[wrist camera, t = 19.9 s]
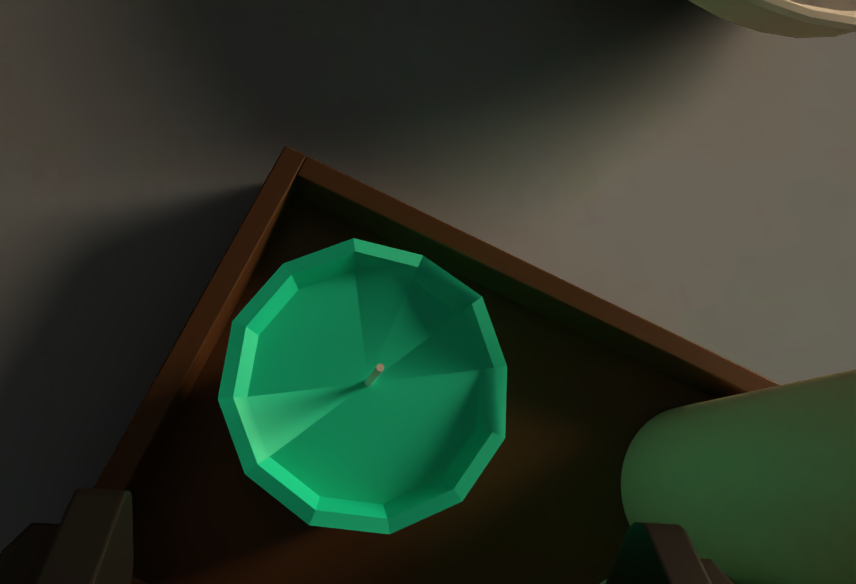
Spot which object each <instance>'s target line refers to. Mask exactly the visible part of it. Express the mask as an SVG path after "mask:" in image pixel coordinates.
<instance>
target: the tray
mask: <svg viewBox="0 0 856 584" xmlns="http://www.w3.org/2000/svg"><path fill="white" fill-rule="evenodd" d="M352 238H355V239H359V240H363V241H367V242H371V243H375V244H379V245H383V246H387V247H391V248H396V249H400V250H404V251H408V252H412V253H416V254H420V255H423V256H425V257H426V258H428V259H429V260H430V261H432V262H433V263H435V264H436V265H438V266H439V267H441V268H442V269H443V270H445V271H446V272H448V273H449V274H451V275H452V276H453V277H455V278H456V279H458V280H459V281H461V282H462V283H464V284H465V285H466V286H468V287H469V288H471V289H472V290H474V291H475V292H476V293H478V294H479V295H481V296H482V297H483V300H484V303H485V306H486V308H487V311H488V314H489V317H490V320H491V322H492V325H493V328H494V331H495V334H496V336H497V339H498V342H499V345H500V348H501V350H502V353H503V356H504V359H505V362H506V364H507V391H506V429H505V439H504V441H503V442H502V444H501V445H500V447H499V448H498V450H497V451H496V452H495V454H494V455H493V457H492V458H491V460H490V461H489V463H488V464H487V466H486V467H485V469H484V470H483V472H482V473H481V475H480V476H479V478H478V479H477V481H476V482H475V484H474V485H473V487H472V488H471V489H470V491H469V492H468V494H467V495H466V497H465V498H464V500H463V501H462V502H460V503H458V504H455V505H453V506H451V507H449V508H447V509H444V510H442V511H440V512H438V513H436V514H433V515H431V516H429V517H427V518H425V519H422V520H420V521H418V522H416V523H414V524H411V525H409V526H407V527H405V528H403V529H401V530H398V531H396V532H394V533H392V534H381V533H373V532H364V531H355V530H346V529H337V528H329V527H320V526H311V525H308V524H307V523H306V522H304V521H303V520H302V519H301V518H299V517H298V516H297V515H296V514H294V513H293V512H292V511H291V510H289V509H288V508H287V507H286V506H284V505H283V504H282V503H281V502H279V501H278V500H277V499H275V498H274V497H273V496H272V495H270V494H269V493H268V492H267V491H265V490H264V489H263V488H262V487H260V486H259V485H258V484H257V483H255V482H254V481H253V480H252V479H250V478H249V477H248V476H247V475H245V473H244V471H243V468H242V465H241V462H240V460H239V457H238V454H237V451H236V448H235V446H234V443H233V440H232V437H231V435H230V432H229V429H228V426H227V423H226V421H225V418H224V415H223V412H222V410H221V407H220V404H219V401H218V395H219V389H220V384H221V379H222V373H223V368H224V363H225V357H226V352H227V347H228V342H229V336H230V331H231V326H232V321H233V320H234V319H235V317H236V316H237V315H238V314H239V313H240V312H241V311H242V309H243V308H244V307H245V306H246V305H247V304H248V303H249V302H250V300H251V299H252V298H253V297H254V296H255V295H256V294H257V292H258V291H259V290H260V289H261V288H262V287H263V286H264V285H265V283H266V282H267V281H268V280H269V279H270V278H271V277H272V275H273V274H274V273H275V272H276V271H277V270H278V269H279V267H280V266H281V265H282V264H283V263H286V262H289V261H291V260H294V259H297V258H300V257H303V256H305V255H308V254H311V253H314V252H316V251H319V250H322V249H325V248H328V247H330V246H333V245H336V244H339V243H341V242H344V241H347V240H350V239H352ZM775 386H780V385H779V384H777V383H775V382H773V381H771V380H769V379H767V378H765V377H763V376H761V375H759V374H757V373H755V372H752V371H750V370H748V369H746V368H744V367H742V366H740V365H738V364H736V363H734V362H732V361H730V360H728V359H726V358H723V357H721V356H719V355H717V354H715V353H713V352H711V351H709V350H707V349H705V348H703V347H701V346H699V345H697V344H695V343H692V342H690V341H688V340H686V339H684V338H682V337H680V336H678V335H676V334H674V333H672V332H670V331H668V330H666V329H663V328H661V327H659V326H657V325H655V324H653V323H651V322H649V321H647V320H645V319H643V318H641V317H639V316H637V315H635V314H632V313H630V312H628V311H626V310H624V309H622V308H620V307H618V306H616V305H614V304H612V303H610V302H608V301H606V300H603V299H601V298H599V297H597V296H595V295H593V294H591V293H589V292H587V291H585V290H583V289H581V288H579V287H577V286H574V285H572V284H570V283H568V282H566V281H564V280H562V279H560V278H558V277H556V276H554V275H552V274H550V273H548V272H546V271H543V270H541V269H539V268H537V267H535V266H533V265H531V264H529V263H527V262H525V261H523V260H521V259H519V258H517V257H514V256H512V255H510V254H508V253H506V252H504V251H502V250H500V249H498V248H496V247H494V246H492V245H490V244H488V243H486V242H483V241H481V240H479V239H477V238H475V237H473V236H471V235H469V234H467V233H465V232H463V231H461V230H459V229H457V228H454V227H452V226H450V225H448V224H446V223H444V222H442V221H440V220H438V219H436V218H434V217H432V216H430V215H428V214H426V213H423V212H421V211H419V210H417V209H415V208H413V207H411V206H409V205H407V204H405V203H403V202H401V201H399V200H397V199H394V198H392V197H390V196H388V195H386V194H384V193H382V192H380V191H378V190H376V189H374V188H372V187H370V186H368V185H366V184H363V183H361V182H359V181H357V180H355V179H353V178H351V177H349V176H347V175H345V174H343V173H341V172H339V171H337V170H334V169H332V168H330V167H328V166H326V165H324V164H322V163H320V162H318V161H316V160H314V159H312V158H310V157H306V156H305V155H303V154H301V153H299V152H297V151H295V150H293V149H291V148H289V147H287V146H285V147H284V148H283V150H282V152H281V154H280V156H279V157H278V159H277V161H276V163H275V165H274V166H273V168H272V170H271V172H270V173H269V175H268V177H267V179H266V181H265V182H264V184H263V186H262V188H261V190H260V191H259V193H258V195H257V197H256V199H255V200H254V202H253V204H252V206H251V208H250V209H249V211H248V213H247V215H246V216H245V218H244V220H243V222H242V224H241V225H240V227H239V229H238V231H237V233H236V234H235V236H234V238H233V240H232V242H231V243H230V245H229V247H228V249H227V250H226V252H225V254H224V256H223V258H222V259H221V261H220V263H219V265H218V267H217V268H216V270H215V272H214V274H213V276H212V277H211V279H210V281H209V283H208V284H207V286H206V288H205V290H204V292H203V293H202V295H201V297H200V299H199V301H198V302H197V304H196V306H195V308H194V310H193V311H192V313H191V315H190V317H189V319H188V320H187V322H186V324H185V326H184V327H183V329H182V331H181V333H180V335H179V336H178V338H177V340H176V342H175V344H174V345H173V347H172V349H171V351H170V353H169V354H168V356H167V358H166V360H165V361H164V363H163V365H162V367H161V369H160V370H159V372H158V374H157V376H156V378H155V379H154V381H153V383H152V385H151V387H150V388H149V390H148V392H147V394H146V395H145V397H144V399H143V401H142V403H141V404H140V406H139V408H138V410H137V412H136V413H135V415H134V417H133V419H132V421H131V422H130V424H129V426H128V428H127V430H126V431H125V433H124V435H123V437H122V438H121V440H120V442H119V444H118V446H117V447H116V449H115V451H114V453H113V455H112V456H111V458H110V460H109V462H108V464H107V465H106V467H105V469H104V471H103V472H102V474H101V476H100V478H99V480H98V481H97V483H96V485H95V487H94V489H109V490H126V491H130V492H131V494H132V515H133V556H134V560H133V573H132V580H131V584H600V583H601V582H603V581H604V580H606V579H607V578H608V576H609V573H610V571H611V569H612V566H613V564H614V562H615V559H616V557H617V555H618V552H619V550H620V548H621V545H622V543H623V541H624V538H625V536H626V533H627V531H628V529H629V527H630V525H629V523H628V520H627V517H626V514H625V511H624V507H623V503H622V495H621V473H622V466H623V462H624V458H625V455H626V453H627V450H628V448H629V445H630V444H631V442H632V440H633V438H634V437H635V435H636V434H637V433H638V431H639V430H640V429H641V428H642V427H643V426H644V425H645V424H646V423H647V422H648V421H649V420H651V419H652V418H653V417H655V416H656V415H658V414H660V413H662V412H664V411H666V410H669V409H672V408H676V407H681V406H686V405H690V404H695V403H700V402H704V401H709V400H714V399H718V398H723V397H728V396H733V395H737V394H742V393H747V392H751V391H756V390H761V389H765V388H770V387H775Z"/></svg>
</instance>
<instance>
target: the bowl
mask: <svg viewBox="0 0 856 584" xmlns="http://www.w3.org/2000/svg"><path fill="white" fill-rule="evenodd" d="M688 1H690V2H692V3H694V4H695V5H697V6H699V7H701V8H703V9H705V10H707V11H708V12H710V13H712V14H714V15H716V16H718V17H719V18H721V19H724V20H727V21H730V22H733V23H736V24H739V25H741V26H744V27H747V28H750V29H753V30H756V31H759V32H764V33H770V34H776V35H782V36H788V37H795V38H813V37H835V36H838V35H842V34H846V33H850V32H854V31H856V0H688Z"/></svg>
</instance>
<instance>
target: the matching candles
mask: <svg viewBox="0 0 856 584" xmlns="http://www.w3.org/2000/svg"><path fill="white" fill-rule="evenodd" d="M621 495H622V503H623V507H624V511H625V514H626V517H627V520H628V523H629V525H630V526H631V525H632V524H633V523H635V522H644V523H661V524H678V525H680V526H681V527H683V528H684V530H685V531H686V533H687V534H688V536H689V538H690V540H691V542H692V544H693V546H694V548H695V550H696V552H697V554H698V556H699V558H703V559H711V560H712V561H713V562H714V563H715V564H716V565H717V566H718V567H719V568H720V569H721V570H722V571H723V573H724V574H725V575H726V576H727V577H728V578H729V579H730V580H731V581H732V582H733V583H734V584H856V369H855V370H850V371H845V372H841V373H836V374H831V375H826V376H822V377H817V378H812V379H808V380H803V381H798V382H794V383H789V384H784V385H780V386H775V387H770V388H765V389H761V390H756V391H751V392H747V393H742V394H737V395H733V396H728V397H723V398H718V399H714V400H709V401H704V402H700V403H695V404H690V405H686V406H681V407H676V408H672V409H669V410H666V411H664V412H662V413H660V414H658V415H656V416H655V417H653V418H652V419H651V420H649V421H648V422H647V423H646V424H645V425H644V426H643V427H642V428H641V429H640V430H639V431H638V433H637V434H636V435H635V437H634V438H633V440H632V442H631V444H630V445H629V448H628V450H627V453H626V455H625V458H624V462H623V466H622V473H621ZM606 581H607V579H606V580H604V581H603V582H601V583H600V584H606Z"/></svg>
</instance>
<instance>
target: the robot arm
mask: <svg viewBox="0 0 856 584" xmlns="http://www.w3.org/2000/svg"><path fill="white" fill-rule="evenodd" d="M133 560H134V556H133V515H132V494H131V492H130V491H126V490H109V489H92V488H77V489H76V490H75V492H74V493H73V495H72V497H71V500H70V502H69V504H68V506H67V509H66V511H65V513H64V516H63V518H62V520H61V523H60V524H49V523H31V524H30V525H29V526H28V527H27V528H26V529H25V530H24V531H23V532H22V533H20V534H19V535H18V536H17V537H16V538H15V539H14V540H13V541H12V542H11V543H10V544H9V545H8V546H7V547H6V548H5V549H3V550H2V552H1V554H0V584H131V580H132V573H133ZM606 584H734V583H733V582H732V581H731V580H730V579H729V578H728V577H727V576H726V575H725V574H724V573H723V571H722V570H721V569H720V568H719V567H718V566H717V565H716V564H715V563H714V562H713V561H712V560H711V559H703V558H699V556H698V554H697V552H696V550H695V548H694V546H693V544H692V542H691V540H690V538H689V536H688V534H687V533H686V531H685V530H684V528H683V527H681V526H680V525H678V524H661V523H644V522H635V523H633V524H632V525H631V526H630V527H629V529H628V531H627V533H626V536H625V538H624V541H623V543H622V545H621V548H620V550H619V552H618V555H617V557H616V559H615V562H614V564H613V566H612V569H611V571H610V573H609V576H608V578H607V581H606Z"/></svg>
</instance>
